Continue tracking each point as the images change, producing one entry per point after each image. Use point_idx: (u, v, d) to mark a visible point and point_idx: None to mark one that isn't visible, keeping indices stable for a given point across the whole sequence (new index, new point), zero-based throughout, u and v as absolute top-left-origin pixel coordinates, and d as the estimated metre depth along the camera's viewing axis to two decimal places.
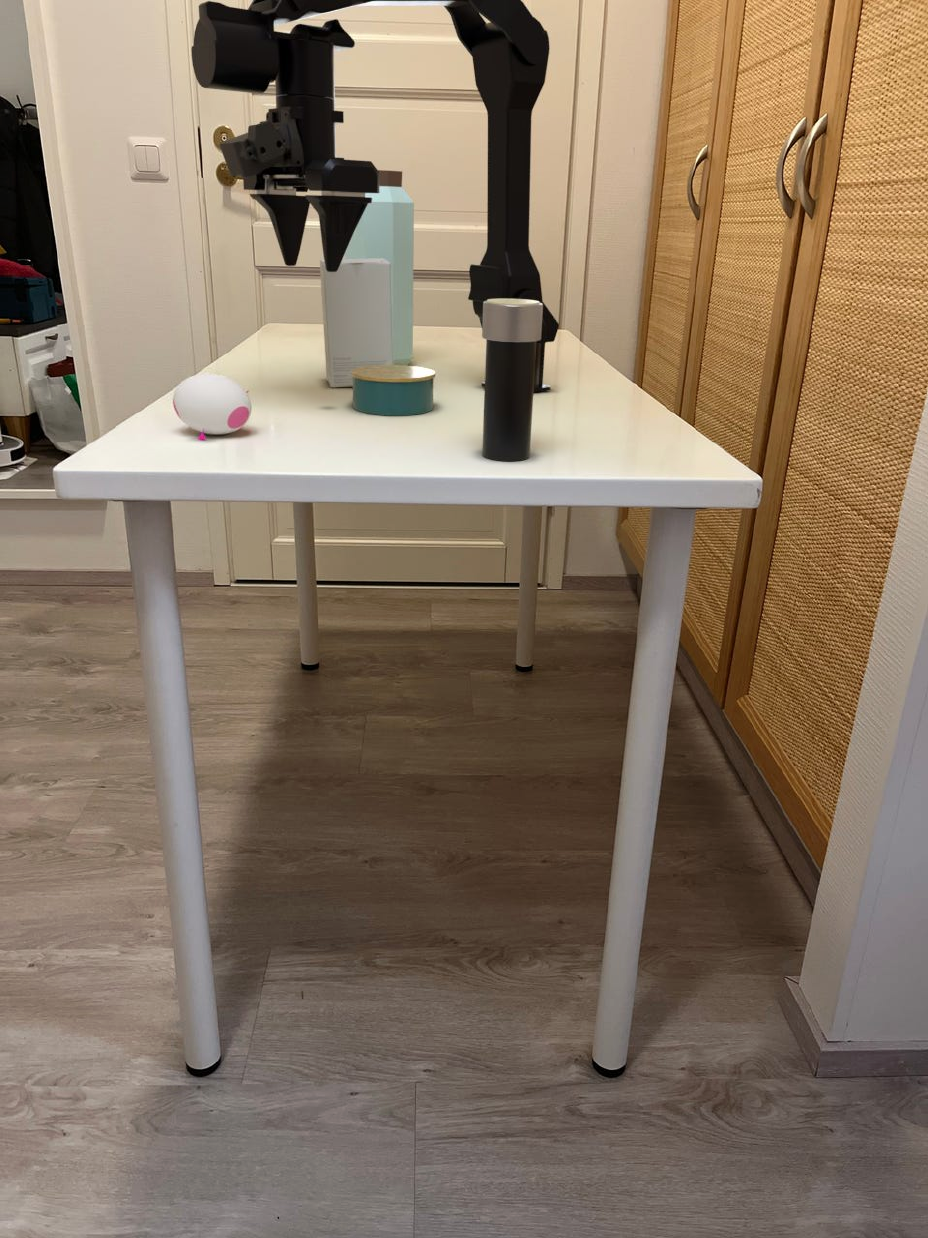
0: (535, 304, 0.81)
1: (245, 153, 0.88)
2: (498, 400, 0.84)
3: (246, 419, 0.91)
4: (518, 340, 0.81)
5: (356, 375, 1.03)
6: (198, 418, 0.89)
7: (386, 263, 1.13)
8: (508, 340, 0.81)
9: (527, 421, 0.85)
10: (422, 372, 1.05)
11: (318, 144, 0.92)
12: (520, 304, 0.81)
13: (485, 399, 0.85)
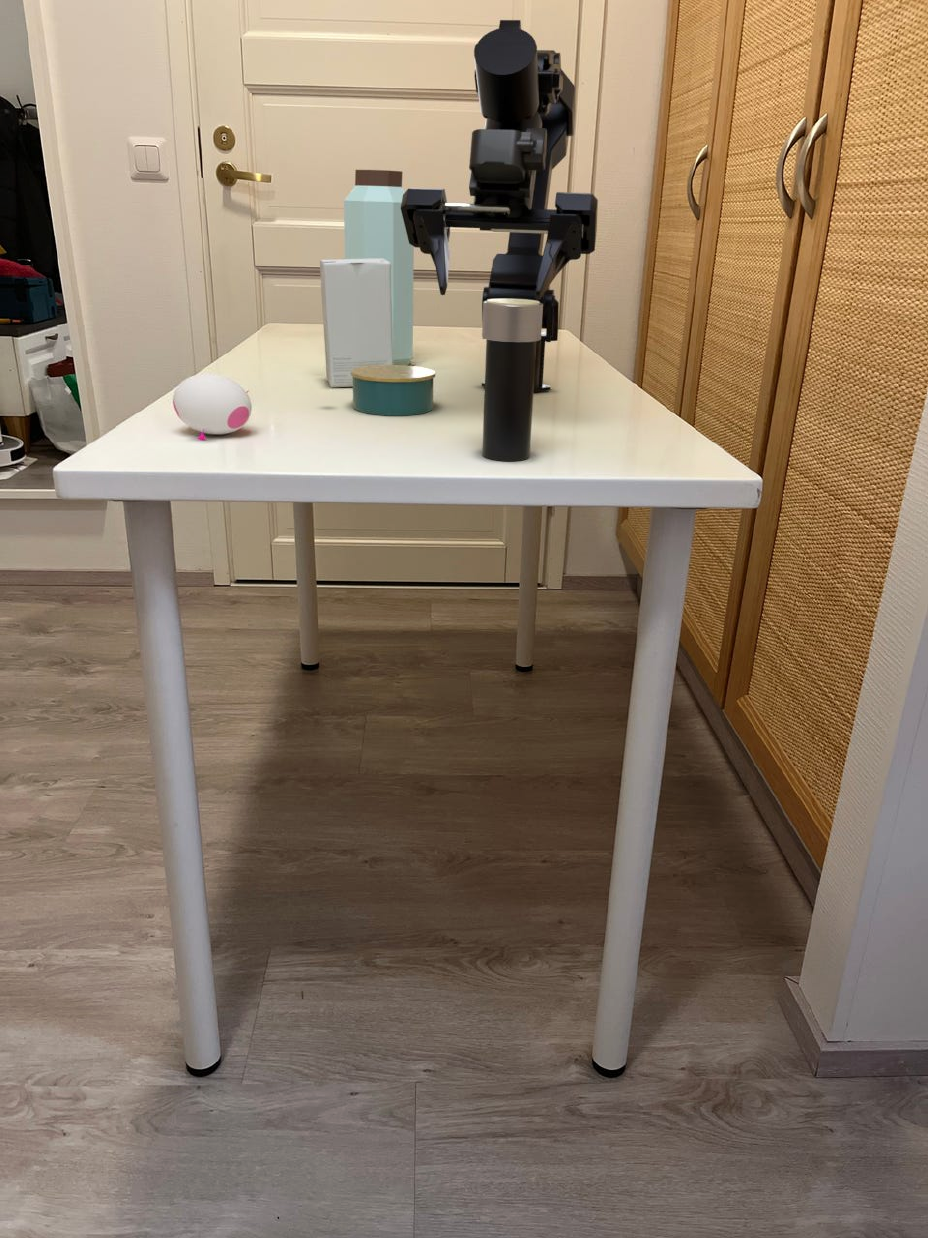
0: (535, 304, 0.81)
1: (531, 142, 0.85)
2: (498, 400, 0.84)
3: (246, 419, 0.91)
4: (518, 340, 0.81)
5: (356, 375, 1.03)
6: (198, 418, 0.89)
7: (386, 263, 1.13)
8: (508, 340, 0.81)
9: (527, 421, 0.85)
10: (422, 372, 1.05)
11: (532, 193, 0.93)
12: (520, 304, 0.81)
13: (485, 399, 0.85)
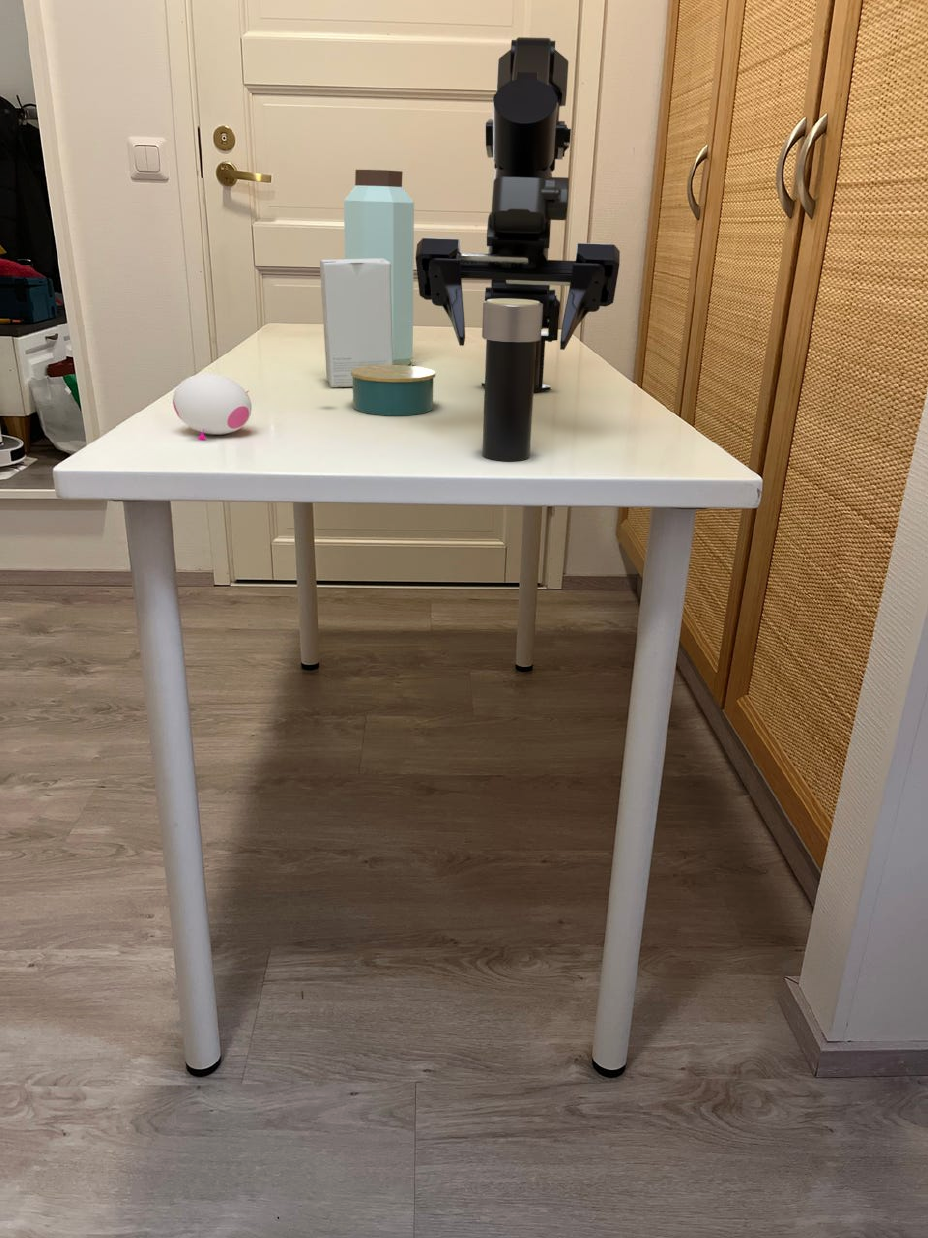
0: (535, 304, 0.81)
1: (556, 190, 0.83)
2: (498, 400, 0.84)
3: (246, 419, 0.91)
4: (518, 340, 0.81)
5: (356, 375, 1.03)
6: (198, 418, 0.89)
7: (386, 263, 1.13)
8: (508, 340, 0.81)
9: (527, 421, 0.85)
10: (422, 372, 1.05)
11: None
12: (520, 304, 0.81)
13: (485, 399, 0.85)
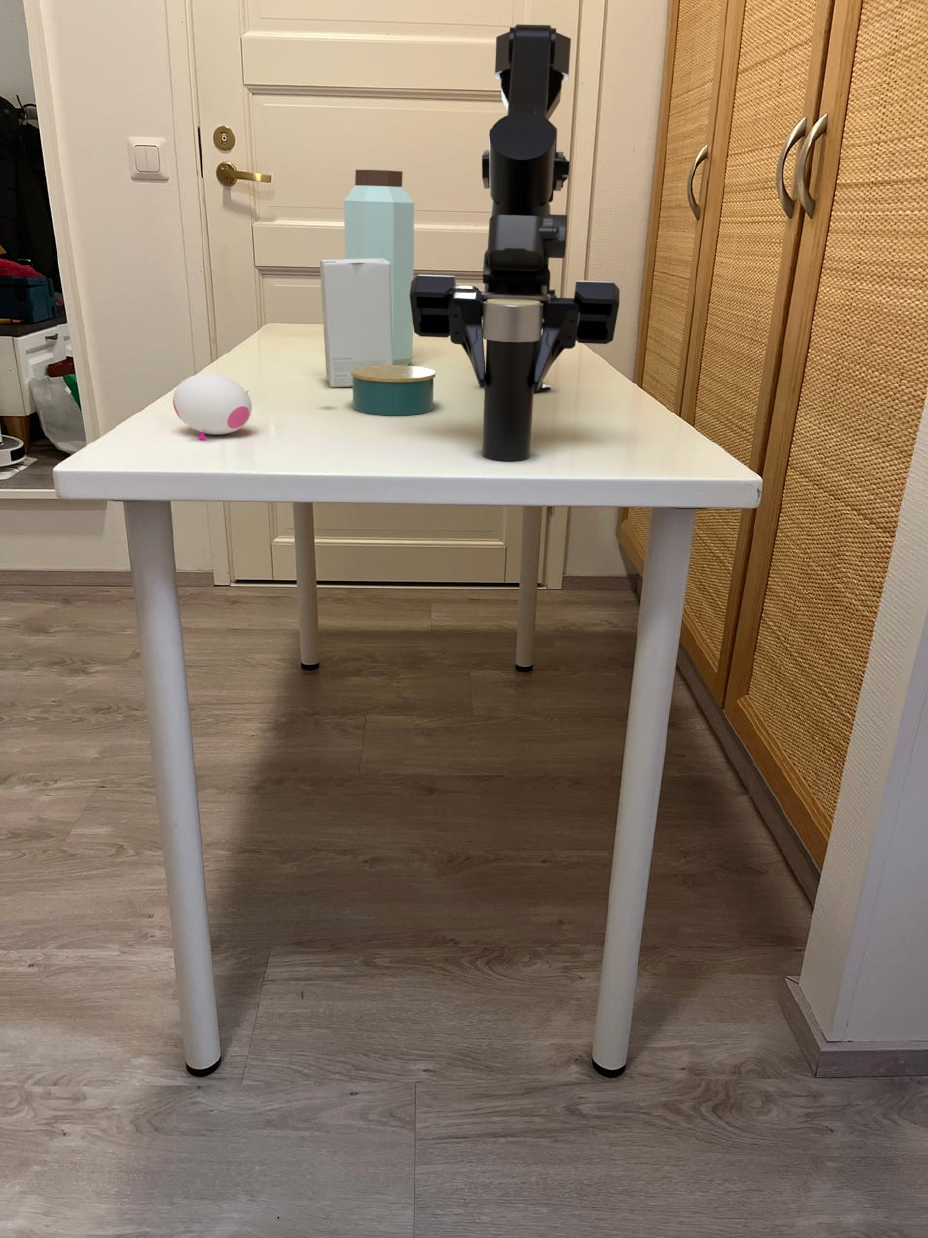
0: (535, 304, 0.81)
1: (554, 229, 0.80)
2: (498, 400, 0.84)
3: (246, 419, 0.91)
4: (518, 340, 0.81)
5: (356, 375, 1.03)
6: (198, 418, 0.89)
7: (386, 263, 1.13)
8: (508, 340, 0.81)
9: (527, 421, 0.85)
10: (422, 372, 1.05)
11: None
12: (520, 304, 0.81)
13: (485, 399, 0.85)
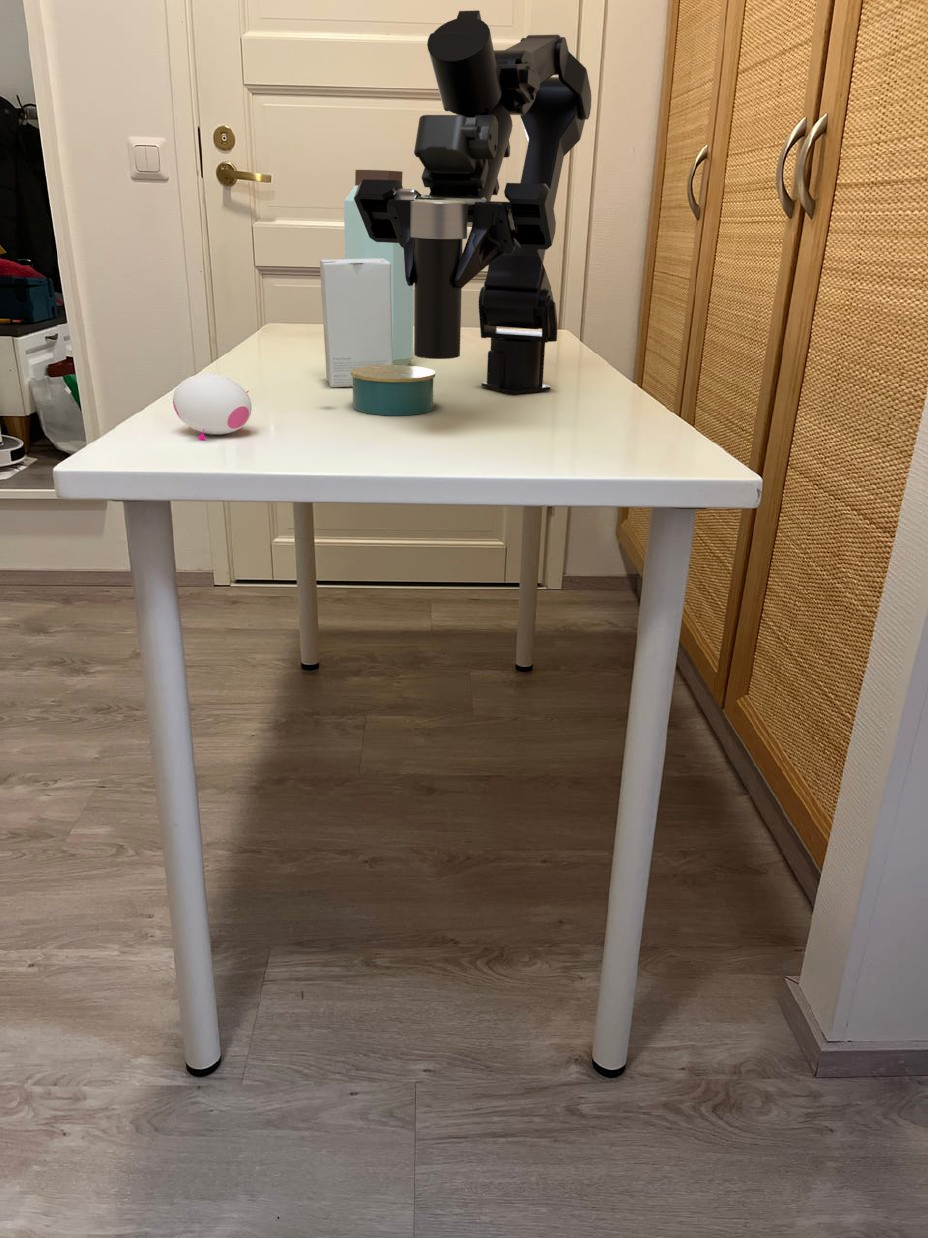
0: (455, 202, 0.84)
1: (475, 127, 0.82)
2: (421, 297, 0.87)
3: (246, 419, 0.91)
4: (436, 237, 0.84)
5: (356, 375, 1.03)
6: (198, 418, 0.89)
7: (386, 263, 1.13)
8: (426, 237, 0.85)
9: (451, 319, 0.88)
10: (422, 372, 1.05)
11: (490, 187, 0.90)
12: (438, 201, 0.84)
13: (414, 297, 0.89)
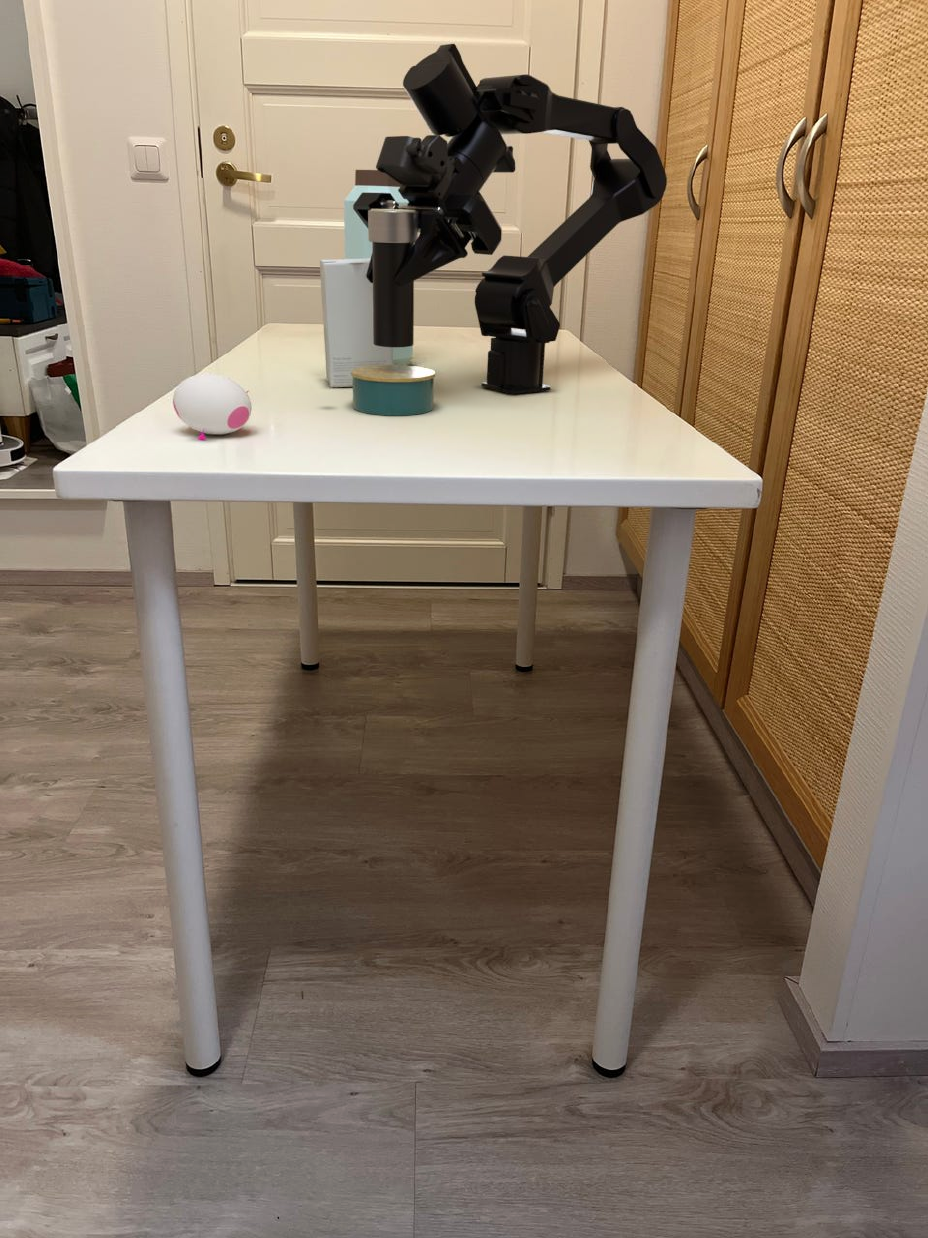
0: (396, 211, 0.97)
1: (415, 146, 0.95)
2: (373, 292, 1.01)
3: (246, 419, 0.91)
4: (378, 240, 0.98)
5: (356, 375, 1.03)
6: (198, 418, 0.89)
7: None
8: (372, 240, 0.98)
9: (395, 313, 1.01)
10: (422, 372, 1.05)
11: None
12: (381, 210, 0.97)
13: None
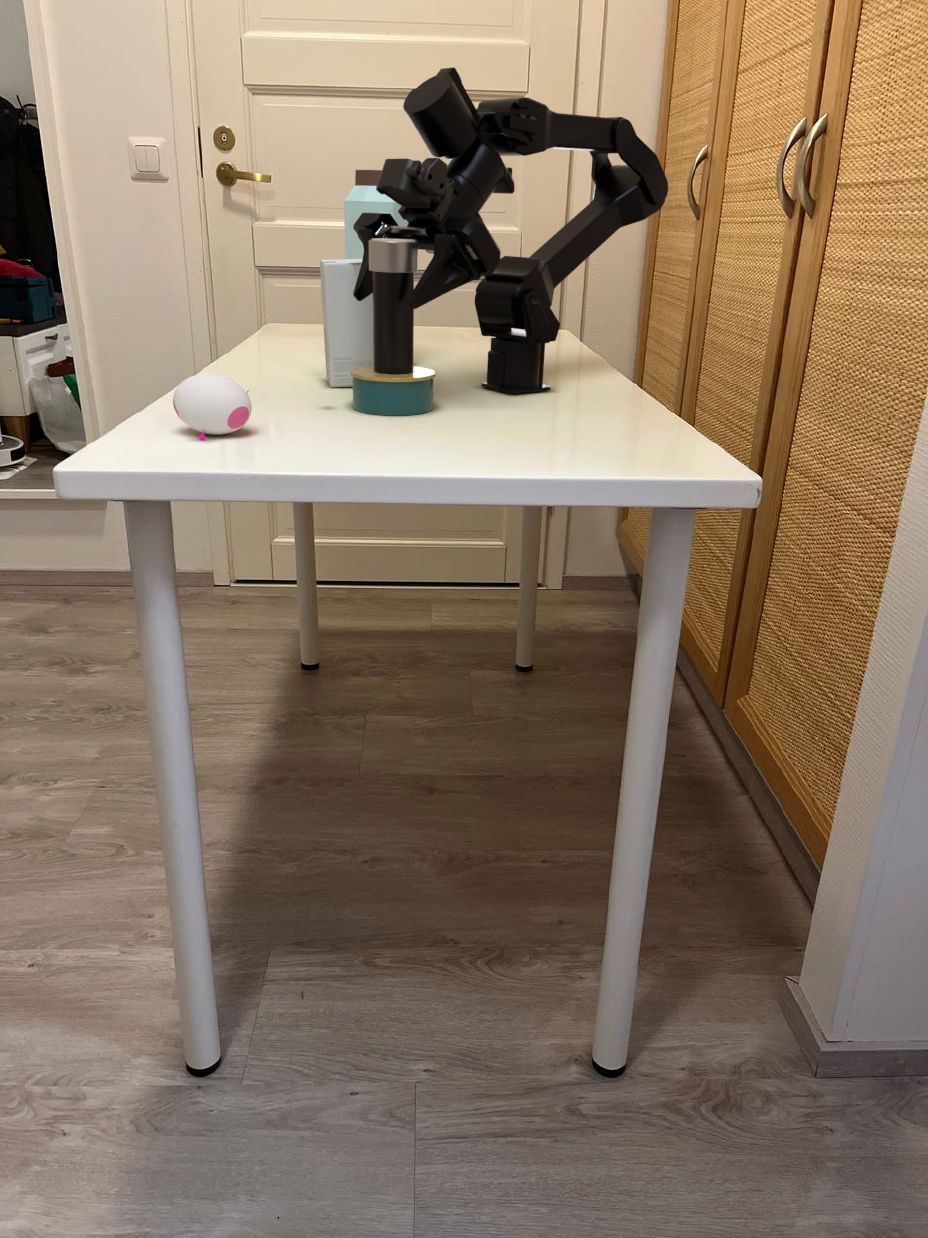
0: (396, 241, 0.98)
1: (414, 169, 0.95)
2: (374, 321, 1.03)
3: (246, 419, 0.91)
4: (379, 270, 0.99)
5: (356, 375, 1.03)
6: (198, 418, 0.89)
7: None
8: (373, 270, 1.00)
9: (395, 341, 1.02)
10: (422, 372, 1.05)
11: None
12: (381, 240, 0.98)
13: None
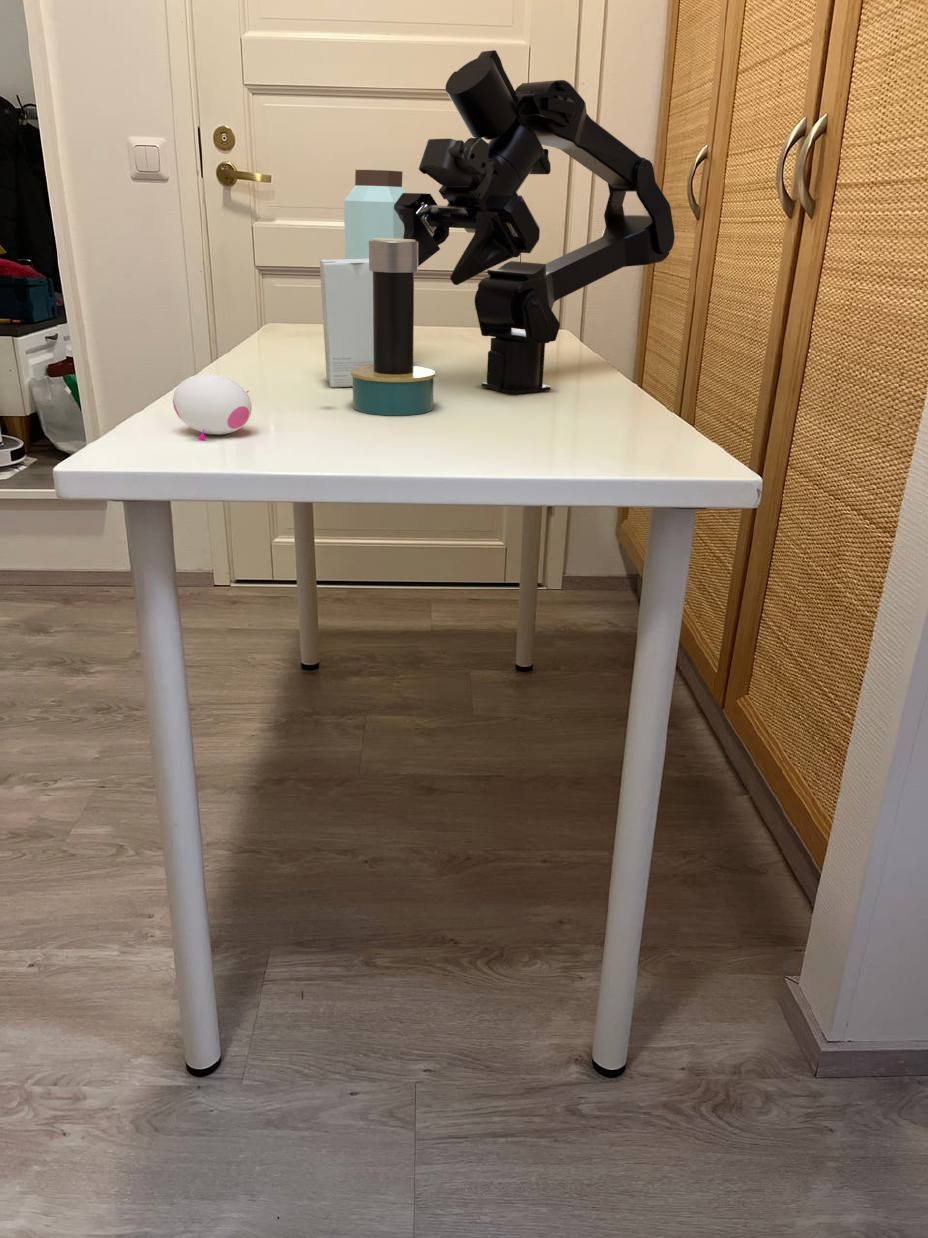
0: (396, 241, 0.98)
1: (458, 148, 0.98)
2: (374, 321, 1.03)
3: (246, 419, 0.91)
4: (379, 270, 0.99)
5: (356, 375, 1.03)
6: (198, 418, 0.89)
7: None
8: (373, 270, 1.00)
9: (395, 341, 1.02)
10: (422, 372, 1.05)
11: None
12: (381, 240, 0.98)
13: None
